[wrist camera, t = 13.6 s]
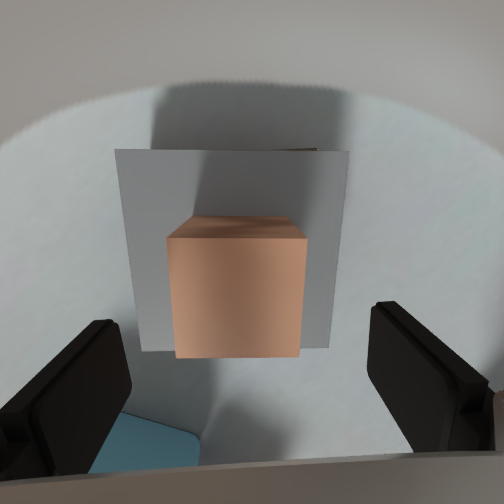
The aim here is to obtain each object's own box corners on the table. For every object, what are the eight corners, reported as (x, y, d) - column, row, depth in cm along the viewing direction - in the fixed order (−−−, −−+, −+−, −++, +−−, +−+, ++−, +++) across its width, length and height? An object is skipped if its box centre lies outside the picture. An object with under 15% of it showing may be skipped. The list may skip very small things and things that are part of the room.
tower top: (326, 155, 20) (349, 151, 16) (313, 316, 25) (328, 347, 20) (141, 153, 20) (114, 149, 16) (159, 319, 24) (141, 351, 20)
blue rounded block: (98, 433, 33) (22, 573, 22) (108, 407, 32) (33, 540, 20) (190, 459, 35) (164, 602, 23) (203, 435, 34) (182, 572, 22)
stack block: (286, 216, 17) (307, 238, 11) (282, 300, 19) (298, 357, 13) (192, 215, 17) (165, 237, 11) (196, 300, 19) (175, 358, 13)
